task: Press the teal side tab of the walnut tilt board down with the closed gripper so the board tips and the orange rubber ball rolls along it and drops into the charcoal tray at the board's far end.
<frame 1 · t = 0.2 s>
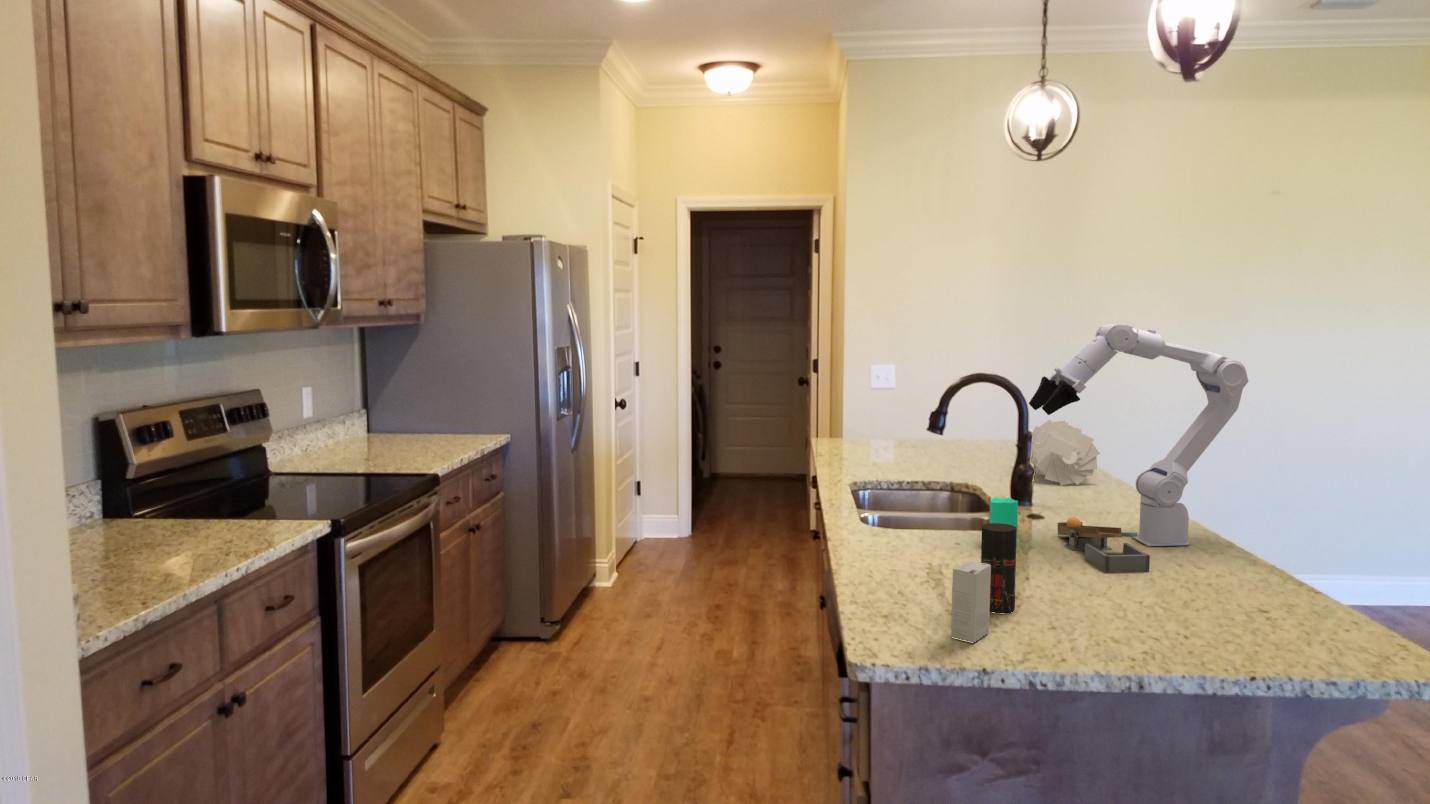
hand: (1038, 409, 200), 31 cm above the worktop, tool tilted 45°, fingers open, 7 cm apart
ball: (1073, 524, 207), point 3 cm above the worktop, tilted 6°, touching tilt board
skincare box: (970, 638, 149), on the worktop
tilt board: (1098, 529, 200), point 4 cm above the worktop, hinge at 13.0°, touching ball
pivot bracket: (1087, 547, 200), on the worktop
tray: (1116, 564, 187), on the worktop
candle: (1002, 546, 202), on the worktop
deodorant: (997, 609, 162), on the worktop
spiral staircase: (1059, 480, 272), on the worktop
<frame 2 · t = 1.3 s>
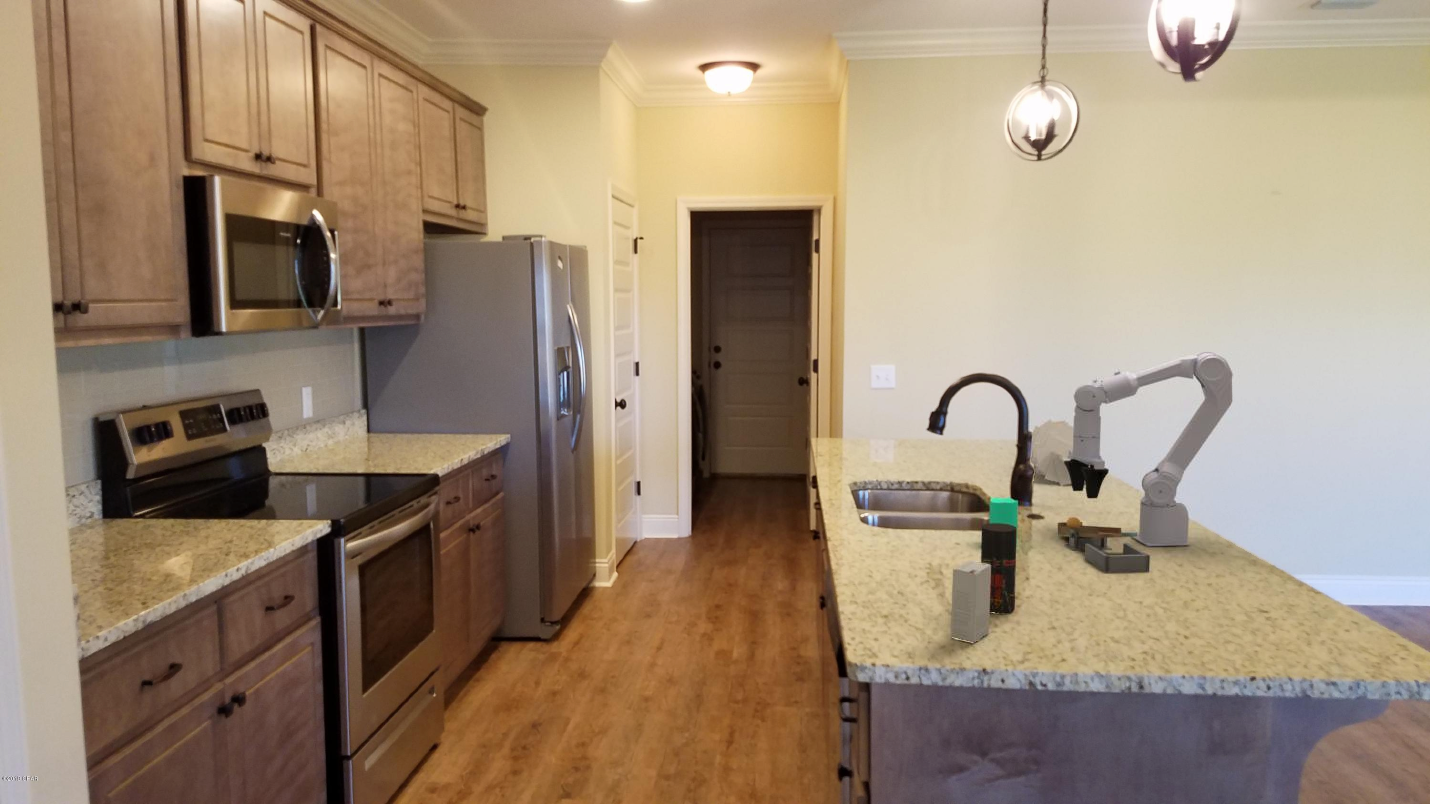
hand: (1084, 494, 208), 10 cm above the worktop, tool pointing down, fingers open, 7 cm apart
nothing on the worktop moved.
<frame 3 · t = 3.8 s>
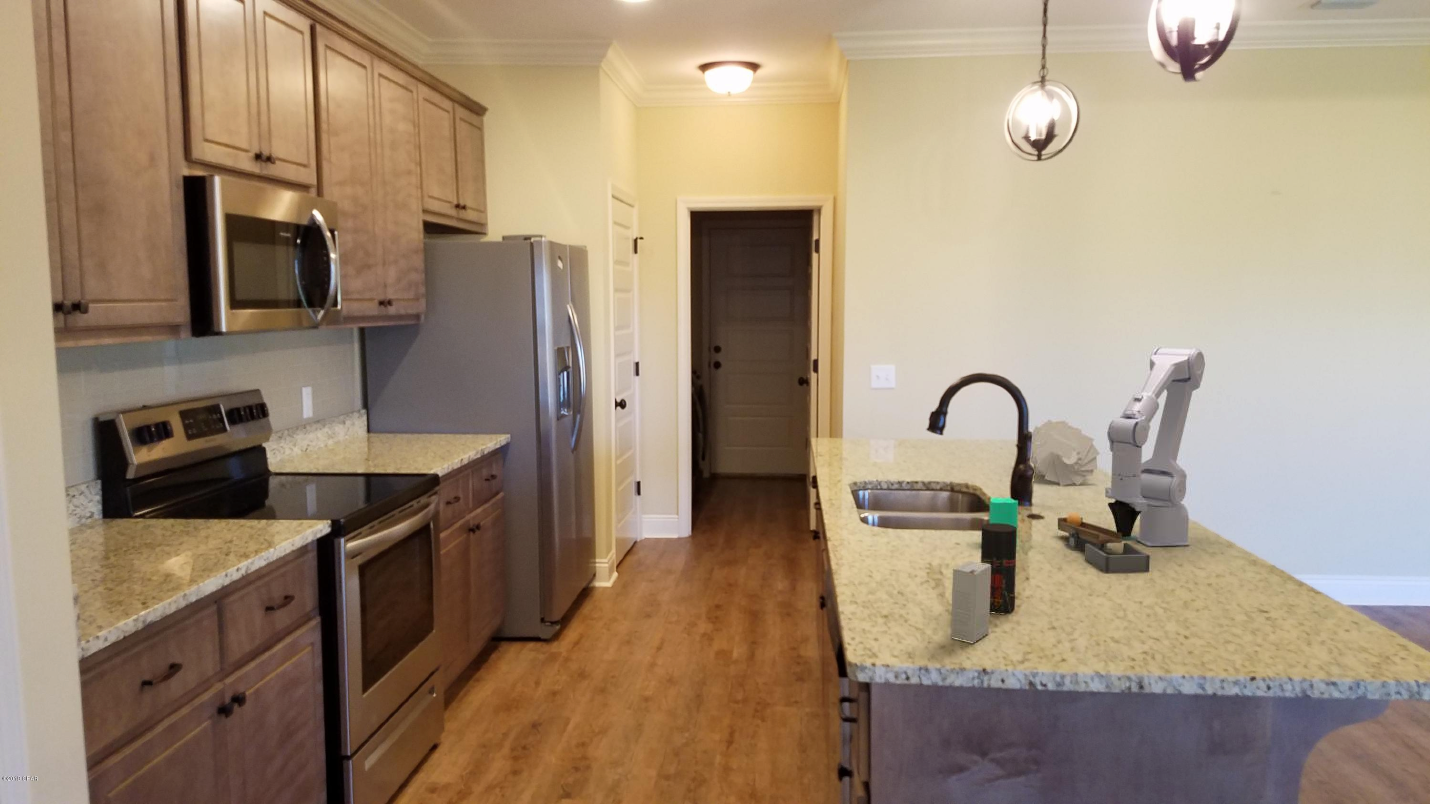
hand: (1123, 536, 193), 4 cm above the worktop, tool pointing down, fingers closed, pressing on tilt board
tilt board: (1098, 529, 200), point 4 cm above the worktop, hinge at 6.4°, touching ball, gripper
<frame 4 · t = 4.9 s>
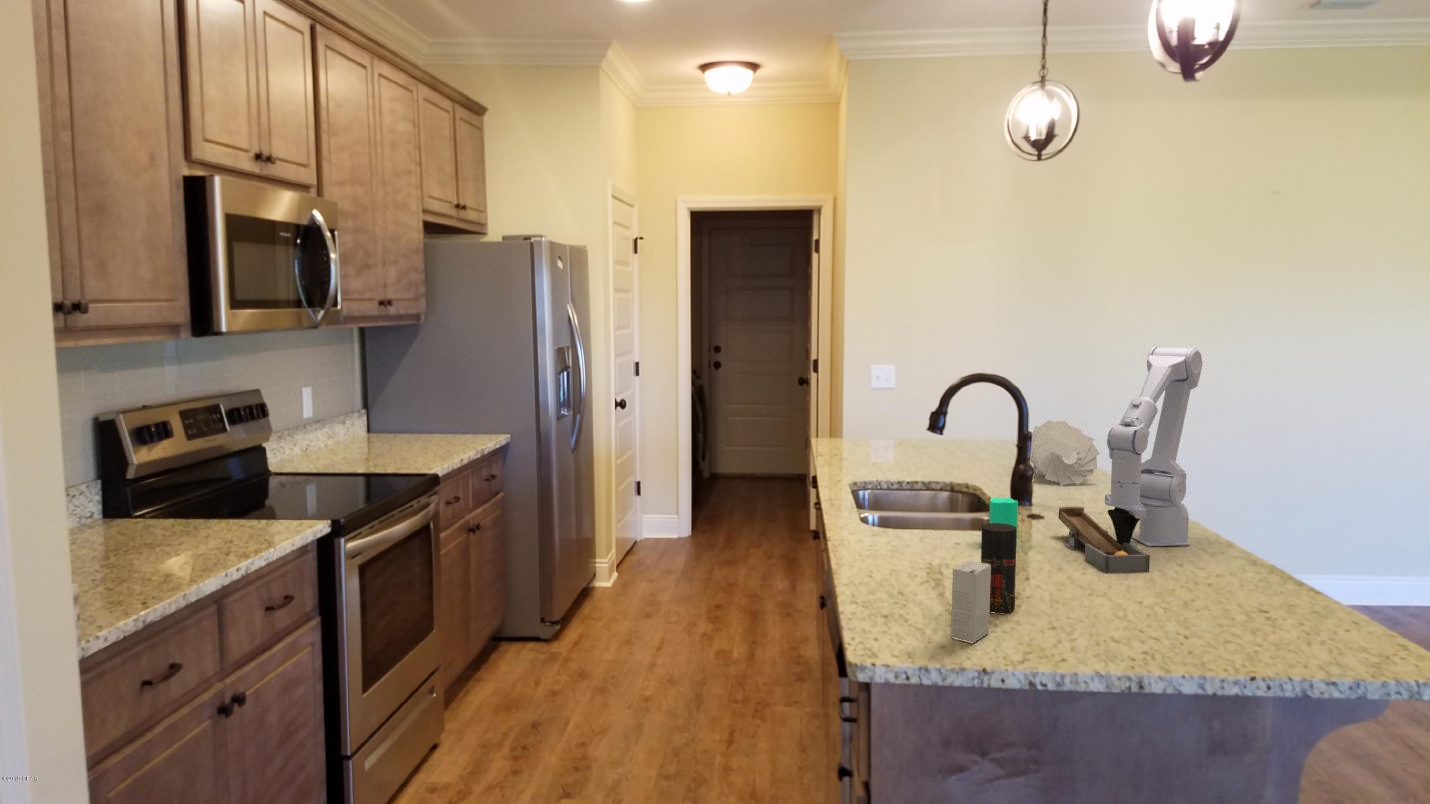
hand: (1123, 543, 194), 2 cm above the worktop, tool pointing down, fingers closed
ball: (1121, 559, 184), point 2 cm above the worktop, tilted 153°, touching tray
tilt board: (1099, 529, 199), point 4 cm above the worktop, hinge at -9.3°, touching gripper
everything else where it was.
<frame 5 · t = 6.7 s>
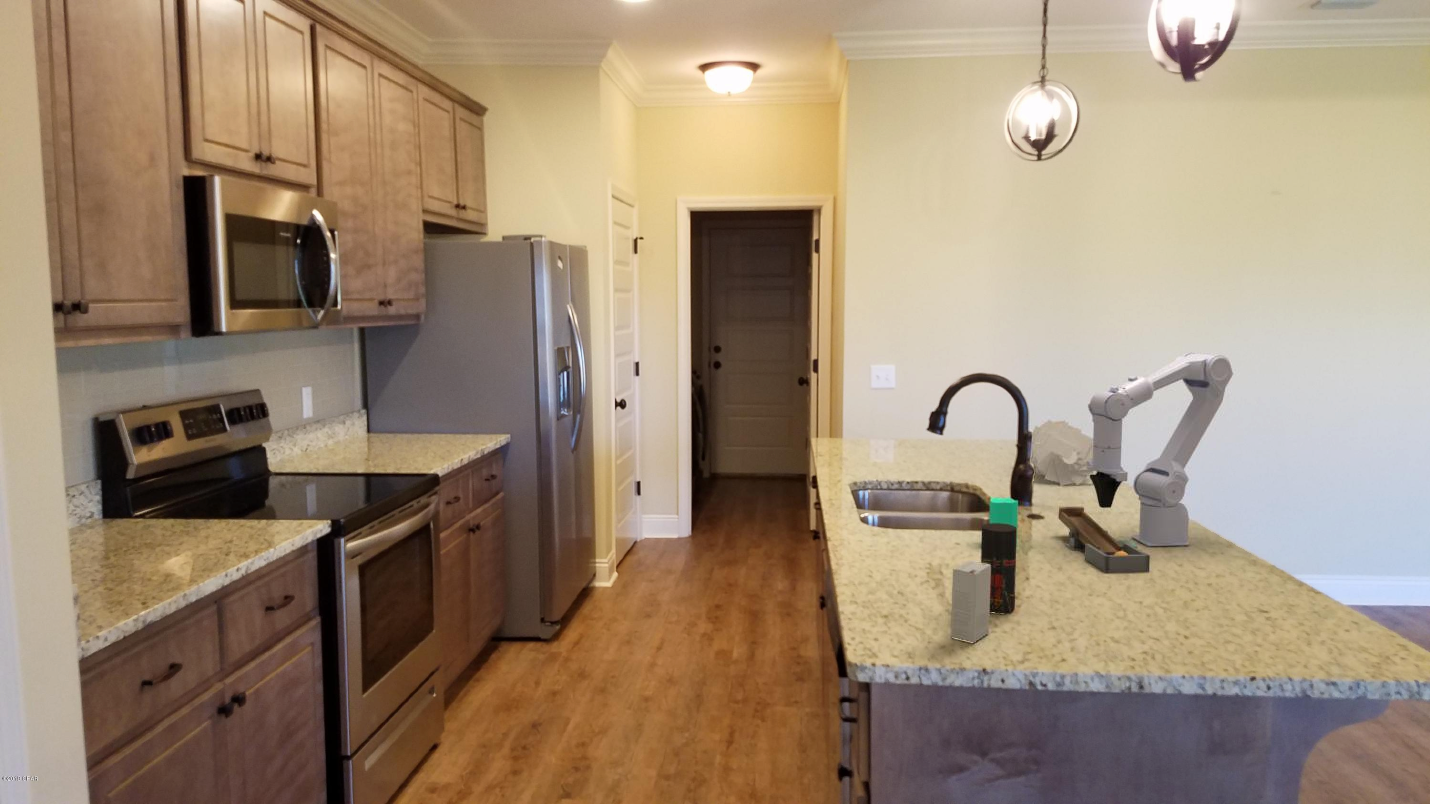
hand: (1105, 507, 199), 9 cm above the worktop, tool pointing down, fingers closed
tilt board: (1099, 529, 199), point 4 cm above the worktop, hinge at -9.3°
everything else where it was.
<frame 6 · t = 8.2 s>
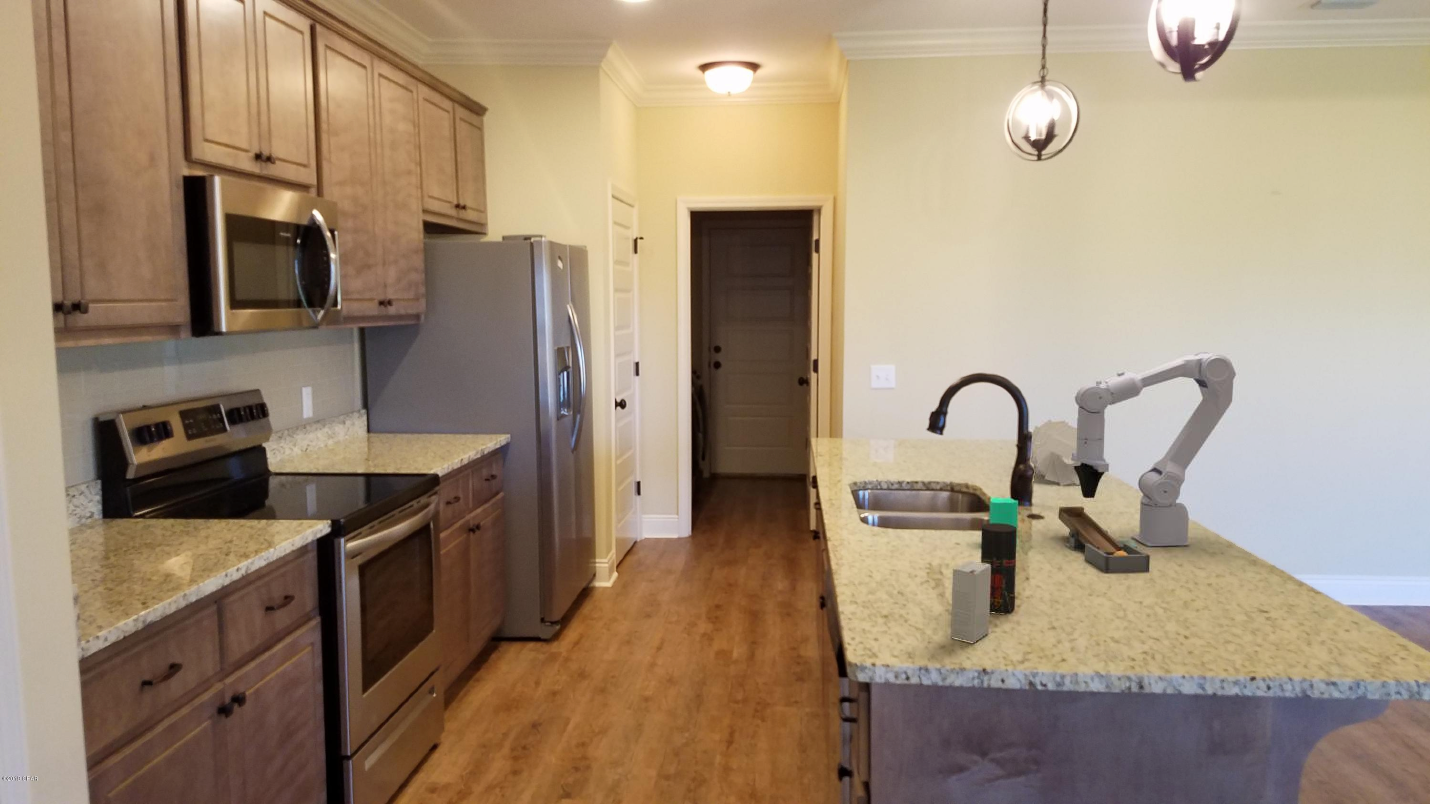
hand: (1088, 497, 205), 10 cm above the worktop, tool pointing down, fingers closed
ball: (1121, 558, 184), point 2 cm above the worktop, tilted 147°, touching tray
everything else where it was.
at the end: ball inside the target area on the tray (0.8 cm from its centre), point 1.9 cm above the tray's base; tilt board at -9° (first picture: +13°) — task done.
